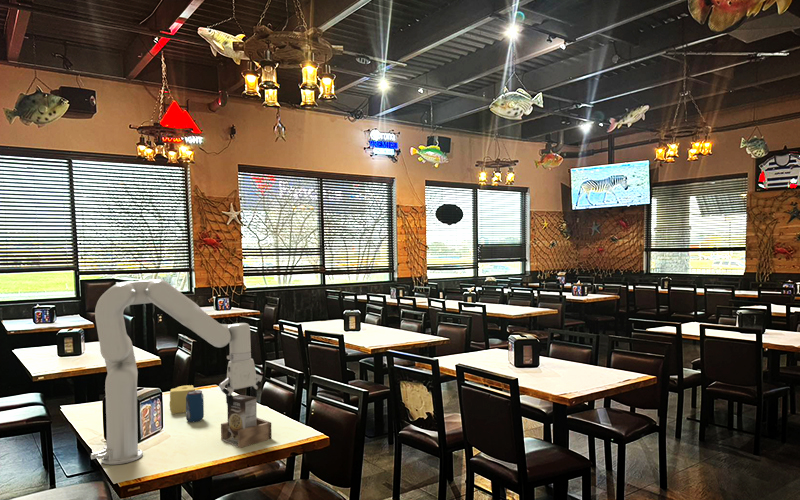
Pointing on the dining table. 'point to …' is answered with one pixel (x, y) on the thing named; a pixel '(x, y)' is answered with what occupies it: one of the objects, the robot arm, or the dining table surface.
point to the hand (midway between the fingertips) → (241, 402)
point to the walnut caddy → (249, 433)
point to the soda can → (194, 406)
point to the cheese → (179, 398)
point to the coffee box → (241, 415)
